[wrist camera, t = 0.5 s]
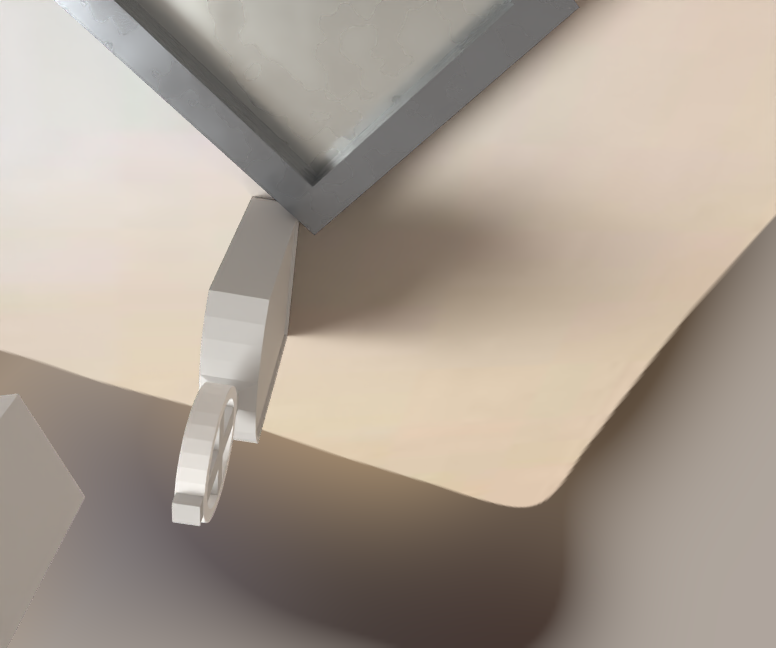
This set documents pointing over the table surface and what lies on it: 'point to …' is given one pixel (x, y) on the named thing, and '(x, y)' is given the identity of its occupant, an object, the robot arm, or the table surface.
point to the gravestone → (237, 354)
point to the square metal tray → (318, 78)
